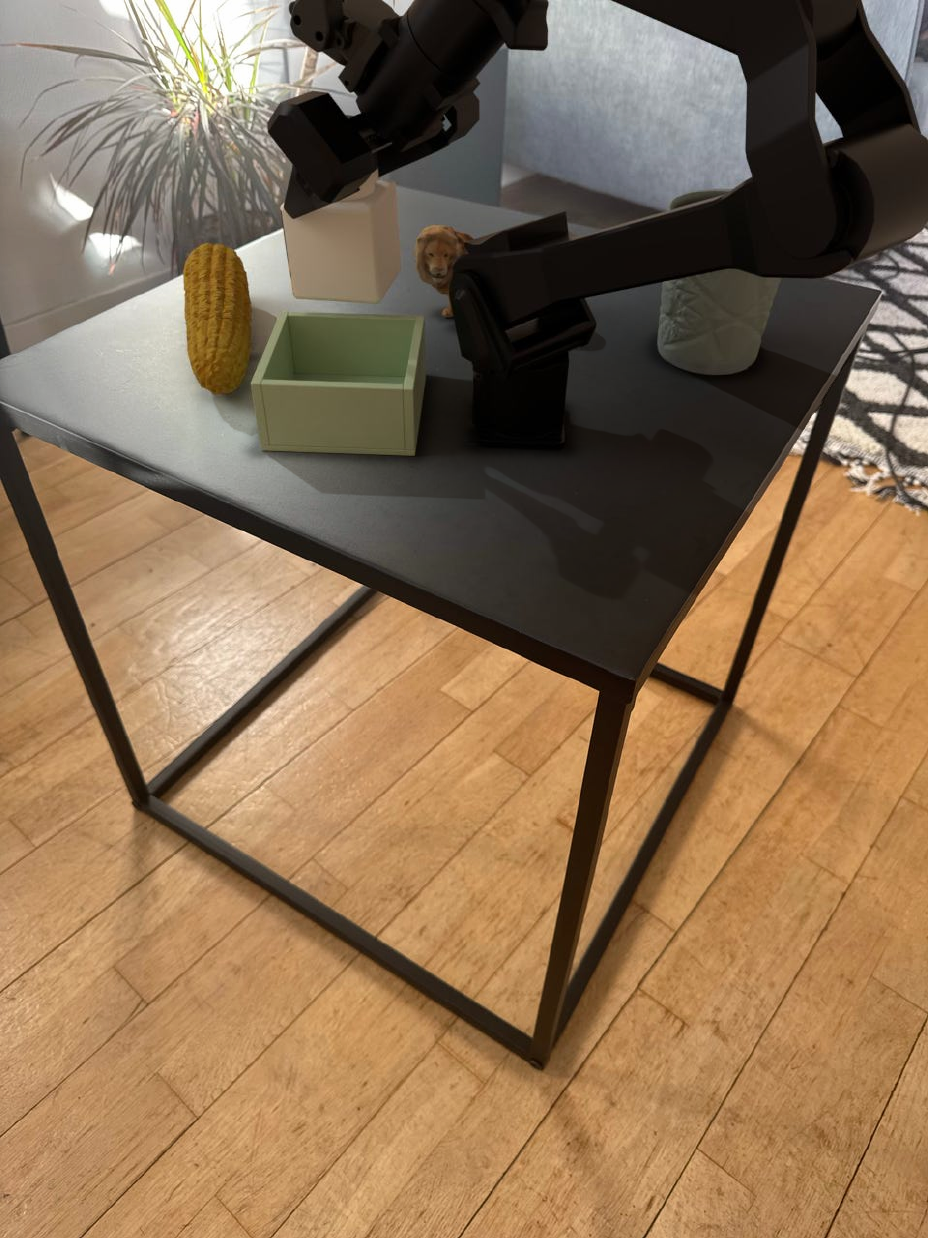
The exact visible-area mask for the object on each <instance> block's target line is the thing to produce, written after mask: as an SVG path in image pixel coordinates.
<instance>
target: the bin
mask: <svg viewBox="0 0 928 1238" xmlns="http://www.w3.org/2000/svg"><path fill="white" fill-rule="evenodd" d="M263 350H264V351H263V353H262V355H261V357H260V361H259V362H258V365H257V366H256V367H257V368H256V371H255V372H254V375H253V377H252V379H251V382H250V388H251V395H252V401H253V407H254V414H255V420H256V428H257V433H258V441H259V444H260V450H261V451H266V452H267V451H268V452H269V451H270V452H271V451H272V452H296V453H297V452H299V453H323V454H324V453H325V454H350V455H351V454H353V455H356V454H357V455H381V456H382V455H383V456H406V457H407V456H408V457H409V456H410V457H411V456H412V457H414V456H416V449H417V443H418V437H419V430H420V429H419V428H420V422H421V413H422V409H423V400H424V394H425V386H426V381H427V373H426V370H427V369H426V367H427V366H426V365H427V364H426V317H425V316H424V315H405V314H404V315H402V314H401V315H400V314H371V313H344V312H343V313H342V312H341V313H340V312H338V313H337V312H313V311H312V312H310V311H304V312H303V311H282V310H281V311H280V312H279V314H278V316H277V319H276V321H275V323H274V326H273V328H272V331H271V333H270V335H269V338H268V340H267V343H266V346H265V348H264V349H263Z"/></svg>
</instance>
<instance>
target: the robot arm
mask: <svg viewBox="0 0 928 1238" xmlns="http://www.w3.org/2000/svg"><path fill="white" fill-rule="evenodd" d="M610 1H611V2H613V3H616V4H618V5H620V6H623V7H625V8H627V9H630V10H632V11H634V12H636V13H639V14H641V15H643V16H645V17H648V18H650V19H652V20H655V21H657V22H660V23H662V24H663V25H666V26H669V27H671V28H673V29H675V30H677V31H680V32H682V33H684V34H687V35H689V36H692V37H694V38H696V39H699V40H701V41H703V42H705V43H707V44H710V45H713V46H715V47H717V48H719V49H721V50H724V51H726V52H728V53H731V54H733V55H735V56H737V58H738V61H739V64H740V65H739V66H740V68H741V72H742V75H743V77H744V80H745V83H746V84H745V85H746V103H745V104H746V106H745V107H746V109H745V143H744V144H745V147H744V149H745V150H744V151H745V157H746V161H747V165H748V167H749V171H750V173H751V176H750V177H749V178H747V179H745V180H744V181H742V182H741V183H740V184H738V185H737V186H735V187H734V188H731V189H732V190H731V191H729V192H728V193H726V194H725V195H721V196H718V197H714V198H711V199H707V200H704V201H700V202H697V203H693V204H690V205H686V206H683V207H679V208H676V209H672V210H669V211H667V210H665V211H662V212H658V213H655V214H651V215H648V216H644V217H641V218H637V219H634V220H630V221H627V222H622V223H620V224H617V225H613V226H608V227H606V228H603V229H598V230H595V231H592V232H587V233H584V234H576V233H574V232H571V231H569V225H568V217H567V216H568V215H567V211H566V210H562V211H560V212H557V213H556V212H555V213H553V214H551V215H547V216H544V217H542V218H538V219H535V220H534V219H532V220H530V221H525V222H523V223H520V224H516V225H513V226H510V227H508V228H507V227H506V228H505V229H502V230H501V229H500V230H498V231H495V232H491V233H489V234H486V235H482V236H479V237H477V238H473V240H470V241H467V242H464V244H463V245H464V248H465V249H466V251H467V252H468V253H465V254H462V255H461V256H459V257H458V258H456V260H455V261H454V262H453V265H452V269H453V275H452V280H451V282H450V286H449V298H450V304H451V308H452V313H453V317H452V318H453V322H454V326H455V331H456V336H457V341H458V345H459V346H458V347H459V350H460V354H461V356H462V358H463V359H465V360H467V361H468V362H471V363H470V364H471V365H472V371H473V374H472V408H471V409H472V410H471V411H472V412H471V413H472V414H471V423H472V424H473V425H474V426H475V427H477V444H478V445H480V446H486V447H487V446H490V447H492V446H493V447H516V448H517V447H518V448H545V449H547V448H548V449H561V448H563V447H565V442H566V436H565V423H564V422H565V419H564V418H565V409H566V399H567V388H568V380H569V370H570V369H569V368H570V353H569V352H570V351H574V350H575V349H578V348H583V347H586V346H588V345H589V344H590V341H591V339H592V337H593V335H594V333H595V331H596V328H597V326H598V323H597V321H596V318H595V316H594V314H593V312H592V310H591V308H590V306H589V304H588V302H587V298H588V299H589V298H592V297H597V296H602V295H607V294H613V293H616V292H621V291H627V290H630V289H636V288H641V287H646V286H650V285H655V284H660V283H663V282H666V281H670V280H675V279H680V278H685V277H690V276H695V275H700V274H705V273H709V272H714V271H719V270H724V269H738V270H741V271H745V272H748V273H751V274H754V275H757V276H760V277H766V278H781V279H809V280H810V279H813V280H814V279H824V278H827V277H828V276H832V275H835V274H837V273H839V272H842V271H843V270H846V269H849V268H850V267H853V266H855V265H857V264H859V263H861V262H863V261H865V260H867V259H870V258H872V257H874V256H877V255H879V254H881V253H883V252H885V251H887V250H888V251H889V249H892V248H893V247H896V246H898V245H901V244H903V243H905V242H908V241H909V240H912V239H913V238H914V237H916V236H917V235H918V234H920V233H921V232H923V230H924V228H925V226H926V225H927V224H928V137H927V136H925V135H924V134H923V133H922V132H921V128H920V123H919V120H918V117H917V113H916V110H915V106H914V103H913V100H912V96H911V93H910V90H909V88H908V85H907V83H906V82H905V80H904V79H903V77H902V76H901V74H900V72H899V71H898V69H897V68H896V67H895V65H894V63H893V62H892V60H891V59H890V57H889V56H888V54H887V53H886V50H885V49H884V48H883V46H882V44H881V43H880V42H879V40H878V39H877V37H876V35H875V34H874V33H873V31H872V29H871V26H870V24H869V21H868V17H867V14H866V10H865V7H864V4H863V0H610ZM549 3H550V2H549V0H413V1H411V4H410V5H409V7H408V8H407V9H406V11H405V12H404V14H403V15H400V14H398V12H395V10H394V9H393V7H392V6H391V5H389V4H388V3H387V2H385V1H384V0H293V1H290V3H289V5H288V13H289V15H290V21H289V26H290V27H289V28H290V30H291V33H292V35H293V36H294V37H295V38H297V39H298V40H299V41H301V42H302V43H303V44H305V45H306V46H307V47H309V48H310V49H312V50H313V51H314V52H316V53H317V54H319V53H321V52H322V53H323V54H325V55H326V56H327V57H328V58H330V59H331V60H333V61H334V62H335V63H337V64H338V65H340V66H342V67H344V68H343V69H342V70H341V72H340V73H339V75H338V76H337V78H338V80H339V81H340V83H341V84H342V85H343V87H344V88H345V90H347V92H348V93H350V94H351V93H354V94H355V96H356V98H355V103H356V106H357V109H358V111H359V112H360V113H358V114H355V115H352V116H353V117H350V118H347V116H346V115H347V114H346V113H345V112H344V111H343V110H342V108H341V107H340V106H339V104H338V103H337V102H336V100H335V99H334V98H333V97H332V95H331V94H330V92H326V91H319V90H309V91H307V92H305V93H302V94H299V95H296V96H293V97H290V98H288V99H286V100H282V101H280V102H279V104H278V105H277V107H276V108H275V110H274V111H273V113H272V114H271V116H270V117H269V119H268V120H267V123H266V127H267V129H266V131H267V133H268V135H269V137H271V138H272V140H273V141H274V142H275V144H276V145H277V146H278V148H279V149H280V151H281V152H282V153H283V154H284V156H285V157H286V158H287V160H289V162H290V163H291V170H290V174H289V175H290V176H289V180H288V184H287V189H286V194H285V197H284V202H283V203H284V209H285V211H286V212H287V213H288V215H289V216H290V217H291V218H292V219H296V218H298V217H300V216H303V215H305V214H308V213H310V212H313V211H315V210H318V209H320V208H323V207H325V206H328V205H330V204H333V203H336V202H339V201H341V200H343V199H344V198H346V197H348V196H350V195H352V194H354V193H356V192H358V191H360V188H359V187H360V186H361V185H362V184H364V183H365V182H366V181H367V179H368V178H369V177H370V176H371V175H372V173H373V172H374V167H373V154H372V153H374V152H376V153H377V166H378V179H380V178H382V177H383V176H386V175H389V174H390V173H393V172H395V171H397V170H400V169H401V168H403V167H406V166H408V165H411V164H413V163H415V162H417V161H419V160H422V159H424V158H426V157H428V156H431V155H433V154H434V153H435V154H436V153H437V152H439V151H441V150H443V149H445V148H446V147H447V148H448V147H449V146H450V145H451V144H452V143H454V142H456V141H458V140H460V139H462V138H464V137H466V136H467V134H468V133H469V132H470V131H471V130H472V129H473V128H474V126H475V125H476V124H477V123H478V122H479V121H480V113H481V111H480V99H479V98H478V96H477V95H476V94H475V91H476V90H477V89H478V87H479V86H481V82H480V81H479V79H478V76H479V74H480V73H481V72H482V70H484V68H485V67H486V66H487V65H488V63H489V62H490V61H491V60H492V59H493V58H494V56H495V55H496V54H497V53H498V51H499V50H500V49H501V48H502V47H503V46H504V45H505V47H506V48H507V49H508V50H512V51H535V52H536V51H537V52H544V51H546V50H547V48H548V46H549V25H548V18H547V15H548V9H549V6H550V4H549ZM817 96H818V98H819V99H820V101H821V102H822V104H823V105H824V107H825V108H826V109H827V111H828V112H829V114H830V115H831V117H832V118H833V120H834V121H835V122H836V124H837V125H838V126H839V130H840V132H841V135H842V136H841V137H838V138H835V139H832V140H829V141H827V142H826V141H825V142H823V141H822V136H821V134H820V133H821V132H820V130H819V127H818V124H817V121H816V99H817V98H816V97H817ZM446 120H447V121H448V122H449V124H450V126H449V127H448V128H447V129H445V128H444V127H445V126H446V125H445V124H444V122H445V121H446Z"/></svg>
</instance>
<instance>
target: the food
mask: <svg viewBox="0 0 928 1238" xmlns="http://www.w3.org/2000/svg"><path fill="white" fill-rule="evenodd" d="M182 275H183V278H182V279H183V280H182V281H183V291H184V294H183V297H184V313H183V315H184V320H185V327H186V328H185V329H186V332H185V333H186V351H187V356H188V359H189V363H190V367H191V370H192V373H193V375H194V376H195V379H196V381H197V382H198V384H199V385H200V386H201V388H202V389H205V390H208V391H209V392H210V393H211V395H213V396H217V395H219V394H222V395H226V394H229V393H232V392H233V391H235V390H236V389H237V388H239V387H240V386H241V383H242V382H243V380H244V379H245V376H246V374H247V369H248V366H249V363H250V358H251V355H252V354H251V353H252V345H253V343H252V311H253V308H252V301H251V295H250V288H249V286H250V285H249V281H248V273H247V271H246V270H245V267H244V264H243V261H242V259H241V257H240V256H238V254H237V251H235V250H234V249H232V248H231V247H227V245H226V244H223V243H222V244H221V243H215V244H212V243H210V242H208V241H207V242H205V243H203V244H200V245H199V246H198V247H195V248H194V249H193V250H192V251H191V252H190V253H189V256H188V257H187V258H186V260H185V262H184V266H183V269H182Z"/></svg>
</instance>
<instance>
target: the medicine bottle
mask: <svg viewBox="0 0 928 1238" xmlns="http://www.w3.org/2000/svg"><path fill="white" fill-rule="evenodd" d="M345 115H346V116H347V118H350V117H353V116H354V115H351V114H350V115H349V114H345ZM372 154H373V167H374V172H373V173H372V175H371V176H370V177H369V178H368V179H367V181H366V182H365V183H364V184H362V185H361V186H360V187H359V188H360V191H358V192H356V193H354V194H352V195H350V196H348V197H346V198H344V199H343V200H341V201H339V202H336V203H333V204H330V205H328V206H325V207H323V208H320V209H318V210H315V211H313V212H310V213H308V214H305V215H303V216H300V217H298V218H296V219H292V218H291V217H290V216H289V215H288V213H287V212H286V211H285V209H284V202H283V203H282V204H281V205H280V217H281V223H282V231H283V237H284V244H285V249H286V250H285V251H286V258H287V265H288V271H289V279H290V285H291V291H292V292H291V293H292V296H293V297H294V299H297V300H309V301H310V300H311V301H327V302H338V303H339V302H341V303H355V304H368V305H369V304H371V305H378V304H380V303H381V302H382V300H383V299H384V297H385V295H386V294H387V292H388V291H389V289H390V288H391V286H392V284H393V283H394V281H395V280H396V278H397V277H398V275H399V274H400V272H401V271H402V255H401V240H400V239H401V238H400V224H399V209H398V191H397V184H396V183H397V182H396V181H394V180H393V179H383V178H382V179H381V178H378V166H377V153H376V152H374V153H372Z"/></svg>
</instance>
